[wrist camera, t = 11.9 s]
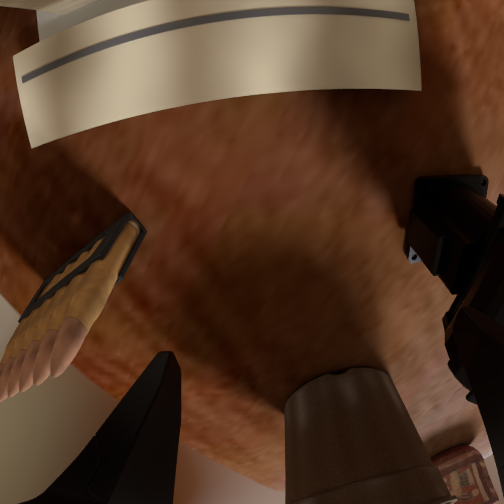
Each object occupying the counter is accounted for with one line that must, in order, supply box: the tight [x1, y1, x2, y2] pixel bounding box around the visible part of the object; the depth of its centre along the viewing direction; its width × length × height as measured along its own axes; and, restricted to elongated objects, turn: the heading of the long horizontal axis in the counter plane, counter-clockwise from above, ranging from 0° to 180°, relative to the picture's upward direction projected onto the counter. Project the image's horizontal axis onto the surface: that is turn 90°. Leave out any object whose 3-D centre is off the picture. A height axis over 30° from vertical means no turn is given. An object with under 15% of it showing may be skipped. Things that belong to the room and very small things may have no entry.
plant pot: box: [284, 367, 458, 504], centre depth 25 cm, size 16×16×16 cm
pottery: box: [431, 445, 499, 504], centre depth 44 cm, size 18×18×18 cm
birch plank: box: [13, 0, 422, 148], centre depth 14 cm, size 22×6×2 cm, turn 97°
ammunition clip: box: [0, 212, 147, 402], centre depth 16 cm, size 11×2×12 cm, turn 122°
